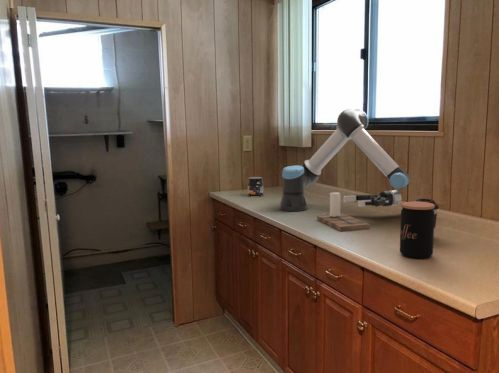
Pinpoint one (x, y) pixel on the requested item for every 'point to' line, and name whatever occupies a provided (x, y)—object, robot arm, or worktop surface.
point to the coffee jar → (417, 229)
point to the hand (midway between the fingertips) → (350, 201)
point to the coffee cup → (433, 209)
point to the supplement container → (255, 186)
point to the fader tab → (335, 204)
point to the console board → (343, 222)
